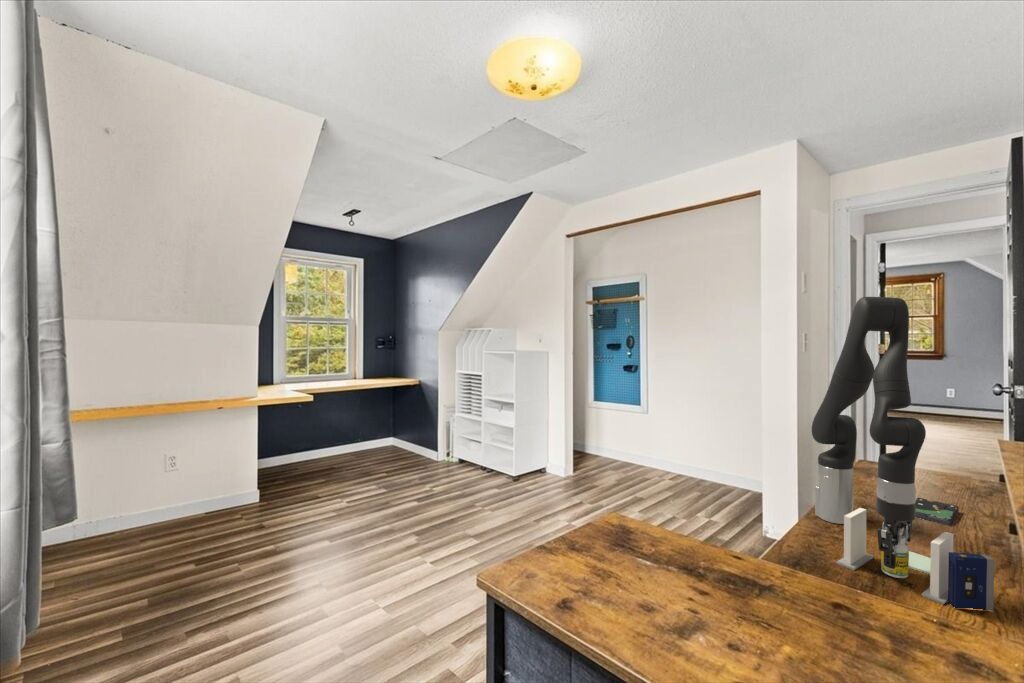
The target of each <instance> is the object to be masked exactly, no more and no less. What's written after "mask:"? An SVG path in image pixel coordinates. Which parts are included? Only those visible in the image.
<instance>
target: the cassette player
mask: <svg viewBox="0 0 1024 683" xmlns="http://www.w3.org/2000/svg"><path fill="white" fill-rule="evenodd" d="M994 592H995V559H994V558H993V557H992V556H988V555H987V554H983V553H970V552H968V553H967V552H954V551H953V552H949V565H948V602H947V604H949V605H950V604H951V605H952V606H953V607H955V608H973V609H983V610H991V611H993V612H994V604H995V602H994V601H995V600H994V598H995V597H994V596H995V595H994V594H995V593H994ZM951 605H950V606H951ZM952 606H951V607H952ZM953 607H952V608H953ZM955 608H954V609H955Z"/></svg>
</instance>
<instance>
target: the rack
mask: <svg viewBox="0 0 1024 683" xmlns="http://www.w3.org/2000/svg"><path fill="white" fill-rule="evenodd" d="M954 536H955V535H954V533H951V532H947V531H944V532H943V533H941V534H940V535H938V536H937V537H936V538H934V539H933V540H931V541H930V558H931V564H930V575H929V576H930V577H929V578H930V579H929V580H930V582H929V584H930V585H929V587H928V588H927V589H926V590H924V591H923V592H921V595H922V596H924V597H926V598H925V599H927V598H929V599H928V600H930V599H931V600H930V601H932V600H934V601H933V602H935V601H936V602H935V603H937V602H939V603H938V604H940V603H941V604H940V605H943V604H945V603H946V604H948V565H949V552H954ZM872 559H874V555H872V554H869V553H867V509H866V508H862V507H858V508H856V509H855V510H853V512H851V513H849V514H847V515H845V516H844V524H843V557H841V558H840V559H838V560H837V561H836V564H837V565H839V566H841V567H843V568H847V569H849V570H852V571H856V570H857V569H859V568H860V567H862V566H863V565H865V564H866V563H868V562H869V561H871V560H872ZM922 596H921V597H922ZM924 597H923V598H924ZM946 604H945V605H946Z"/></svg>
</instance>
